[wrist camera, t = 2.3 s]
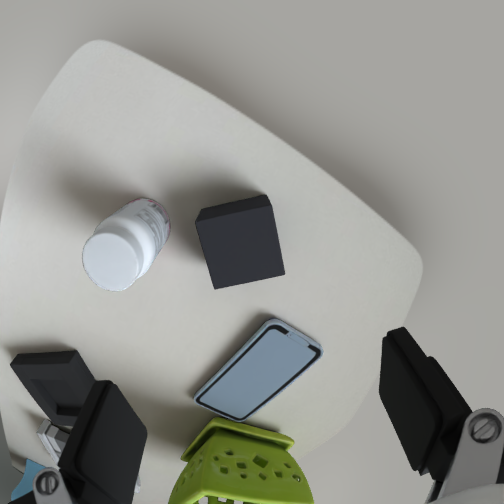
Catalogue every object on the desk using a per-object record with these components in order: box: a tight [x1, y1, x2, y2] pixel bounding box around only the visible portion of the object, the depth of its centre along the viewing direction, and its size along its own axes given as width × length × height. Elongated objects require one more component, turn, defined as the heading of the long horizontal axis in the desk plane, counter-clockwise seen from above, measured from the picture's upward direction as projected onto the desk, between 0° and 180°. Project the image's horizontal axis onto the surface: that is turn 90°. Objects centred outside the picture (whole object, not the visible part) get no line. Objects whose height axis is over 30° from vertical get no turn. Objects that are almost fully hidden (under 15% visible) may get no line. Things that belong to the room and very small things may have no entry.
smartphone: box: [194, 319, 323, 422], centre depth 31 cm, size 7×1×15 cm
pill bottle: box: [82, 199, 170, 291], centre depth 21 cm, size 5×5×8 cm
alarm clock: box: [37, 419, 140, 493], centre depth 38 cm, size 17×5×16 cm
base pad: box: [10, 350, 96, 426], centre depth 31 cm, size 12×12×2 cm
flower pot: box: [168, 417, 314, 504], centre depth 30 cm, size 14×14×13 cm
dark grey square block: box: [195, 195, 285, 289], centre depth 24 cm, size 6×6×4 cm
